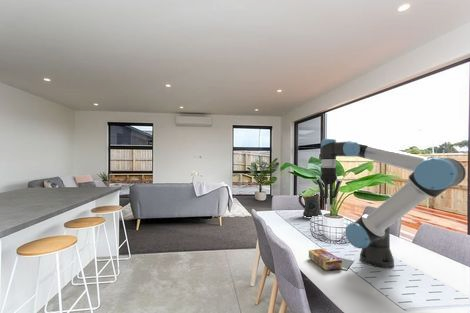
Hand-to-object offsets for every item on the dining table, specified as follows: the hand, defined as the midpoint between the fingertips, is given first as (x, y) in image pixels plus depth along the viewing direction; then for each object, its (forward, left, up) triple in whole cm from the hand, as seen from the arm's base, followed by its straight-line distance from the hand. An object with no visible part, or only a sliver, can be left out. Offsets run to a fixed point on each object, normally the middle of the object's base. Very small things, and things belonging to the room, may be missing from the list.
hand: (328, 210), depth 132 cm
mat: (-5, +6, -25) cm, 26 cm away
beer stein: (+42, -79, -25) cm, 93 cm away
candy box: (+5, +8, -22) cm, 24 cm away
